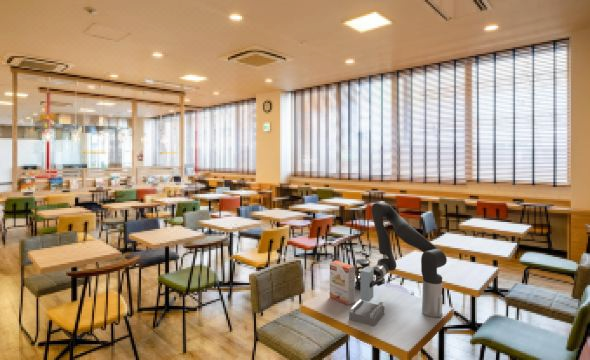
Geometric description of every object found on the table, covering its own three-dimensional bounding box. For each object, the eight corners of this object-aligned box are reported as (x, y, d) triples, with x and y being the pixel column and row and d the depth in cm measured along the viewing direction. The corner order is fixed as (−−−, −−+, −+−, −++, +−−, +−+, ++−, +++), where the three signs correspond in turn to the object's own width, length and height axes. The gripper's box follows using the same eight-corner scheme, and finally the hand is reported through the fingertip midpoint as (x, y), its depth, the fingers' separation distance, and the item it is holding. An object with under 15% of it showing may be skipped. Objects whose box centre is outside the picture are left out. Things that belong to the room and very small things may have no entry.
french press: (361, 292, 206) (362, 255, 204) (350, 287, 214) (350, 251, 212) (375, 288, 213) (376, 251, 210) (364, 283, 220) (364, 247, 218)
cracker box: (329, 297, 200) (329, 262, 198) (336, 294, 204) (336, 259, 202) (348, 305, 190) (348, 268, 188) (355, 302, 194) (355, 265, 192)
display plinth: (384, 313, 180) (384, 302, 180) (374, 326, 168) (374, 314, 167) (360, 307, 187) (360, 296, 187) (349, 319, 175) (349, 308, 174)
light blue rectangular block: (373, 297, 178) (373, 268, 176) (368, 301, 173) (369, 272, 171) (364, 295, 181) (365, 267, 179) (360, 299, 176) (360, 270, 174)
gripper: (364, 264, 192) (352, 274, 177) (390, 269, 184) (379, 280, 170) (364, 277, 193) (351, 288, 178) (390, 283, 185) (379, 295, 171)
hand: (365, 284), depth 174 cm, fingers closed on light blue rectangular block, 4 cm apart
